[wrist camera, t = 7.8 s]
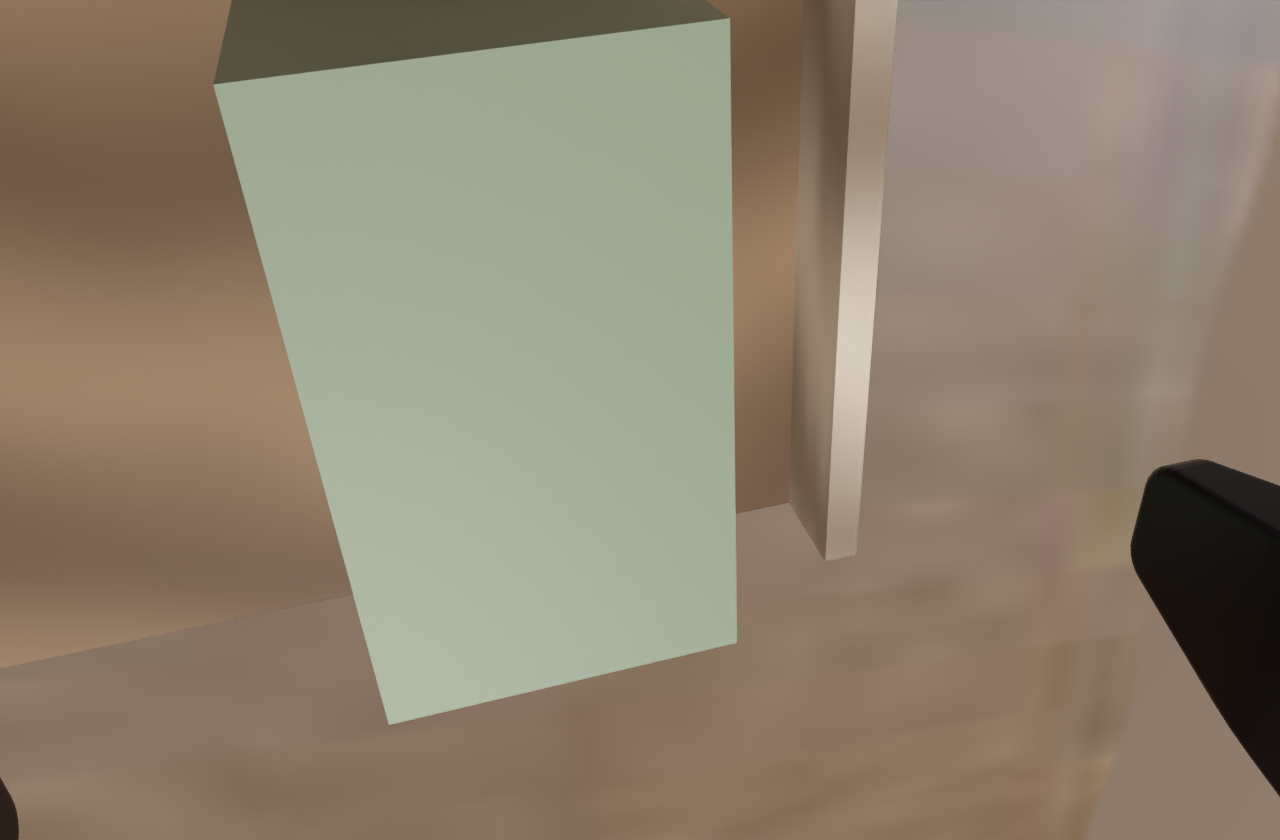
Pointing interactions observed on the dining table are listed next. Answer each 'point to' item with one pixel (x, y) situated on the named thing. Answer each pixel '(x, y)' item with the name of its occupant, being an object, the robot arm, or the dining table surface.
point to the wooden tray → (252, 340)
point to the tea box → (504, 321)
